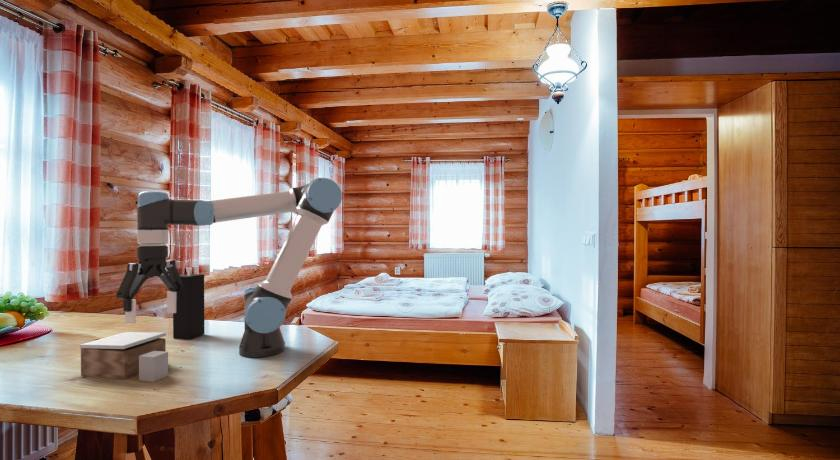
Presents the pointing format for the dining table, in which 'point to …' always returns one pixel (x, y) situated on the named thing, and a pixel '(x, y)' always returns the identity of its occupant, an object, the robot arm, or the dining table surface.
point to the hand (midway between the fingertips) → (152, 317)
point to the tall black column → (189, 307)
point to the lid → (123, 340)
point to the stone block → (153, 366)
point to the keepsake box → (117, 359)
